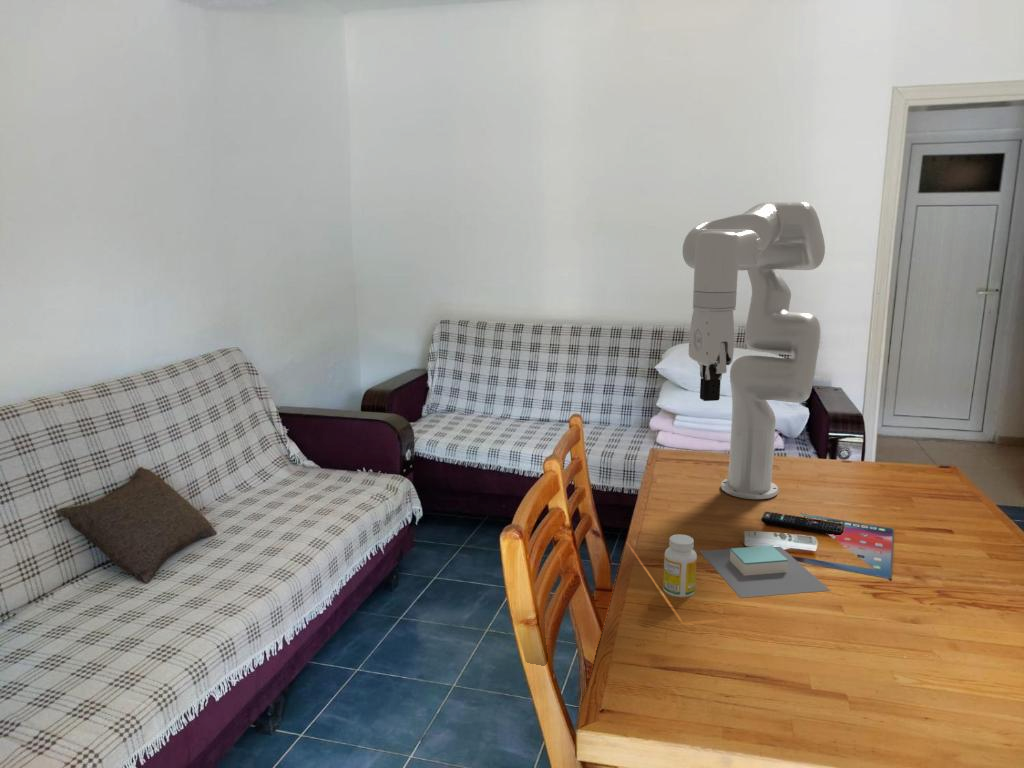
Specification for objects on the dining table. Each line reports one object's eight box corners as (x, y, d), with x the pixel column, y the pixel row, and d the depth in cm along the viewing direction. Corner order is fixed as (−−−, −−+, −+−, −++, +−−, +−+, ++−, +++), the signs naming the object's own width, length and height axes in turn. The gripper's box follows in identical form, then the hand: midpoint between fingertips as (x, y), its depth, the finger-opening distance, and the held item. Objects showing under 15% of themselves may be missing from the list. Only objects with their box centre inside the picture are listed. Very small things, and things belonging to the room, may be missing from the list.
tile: (730, 548, 137) (745, 563, 131) (771, 545, 138) (787, 559, 132) (729, 560, 137) (744, 575, 132) (770, 557, 139) (786, 572, 133)
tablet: (894, 531, 151) (894, 527, 151) (891, 584, 130) (891, 579, 130) (794, 515, 160) (794, 511, 160) (776, 562, 139) (776, 557, 138)
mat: (699, 553, 142) (699, 551, 141) (778, 547, 144) (778, 545, 144) (740, 600, 124) (740, 597, 124) (830, 592, 126) (830, 590, 126)
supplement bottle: (666, 599, 125) (668, 546, 123) (660, 583, 130) (662, 532, 128) (698, 599, 125) (701, 545, 123) (691, 583, 130) (693, 532, 128)
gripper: (679, 297, 141) (675, 391, 145) (711, 306, 127) (706, 410, 131) (717, 296, 142) (712, 389, 147) (752, 305, 128) (746, 408, 132)
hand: (709, 399), depth 139 cm, fingers closed
